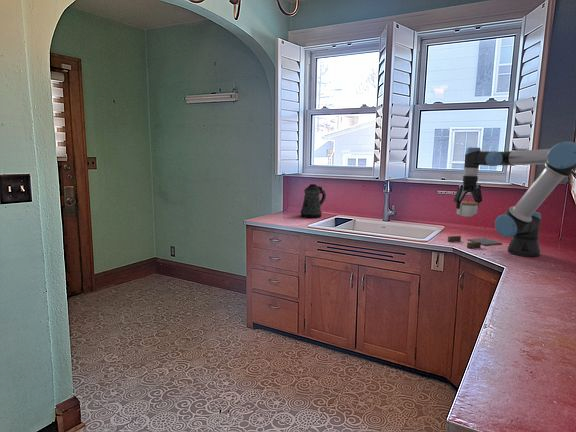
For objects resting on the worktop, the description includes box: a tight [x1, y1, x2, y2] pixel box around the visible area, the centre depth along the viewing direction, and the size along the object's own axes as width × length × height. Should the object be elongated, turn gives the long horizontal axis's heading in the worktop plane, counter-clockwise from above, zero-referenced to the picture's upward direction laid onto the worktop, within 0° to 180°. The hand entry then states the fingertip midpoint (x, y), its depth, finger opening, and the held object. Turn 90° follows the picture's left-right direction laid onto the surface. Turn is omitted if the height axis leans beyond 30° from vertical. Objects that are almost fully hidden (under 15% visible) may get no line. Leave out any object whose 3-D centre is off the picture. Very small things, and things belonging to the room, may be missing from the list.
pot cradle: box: [447, 235, 482, 250], centre depth 229 cm, size 17×8×3 cm, turn 18°
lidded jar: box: [460, 199, 479, 218], centre depth 226 cm, size 11×11×9 cm
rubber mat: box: [467, 237, 503, 247], centre depth 235 cm, size 13×13×1 cm
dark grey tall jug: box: [300, 183, 327, 219], centre depth 308 cm, size 16×19×25 cm
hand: (466, 214), depth 226 cm, fingers closed on lidded jar, 11 cm apart
